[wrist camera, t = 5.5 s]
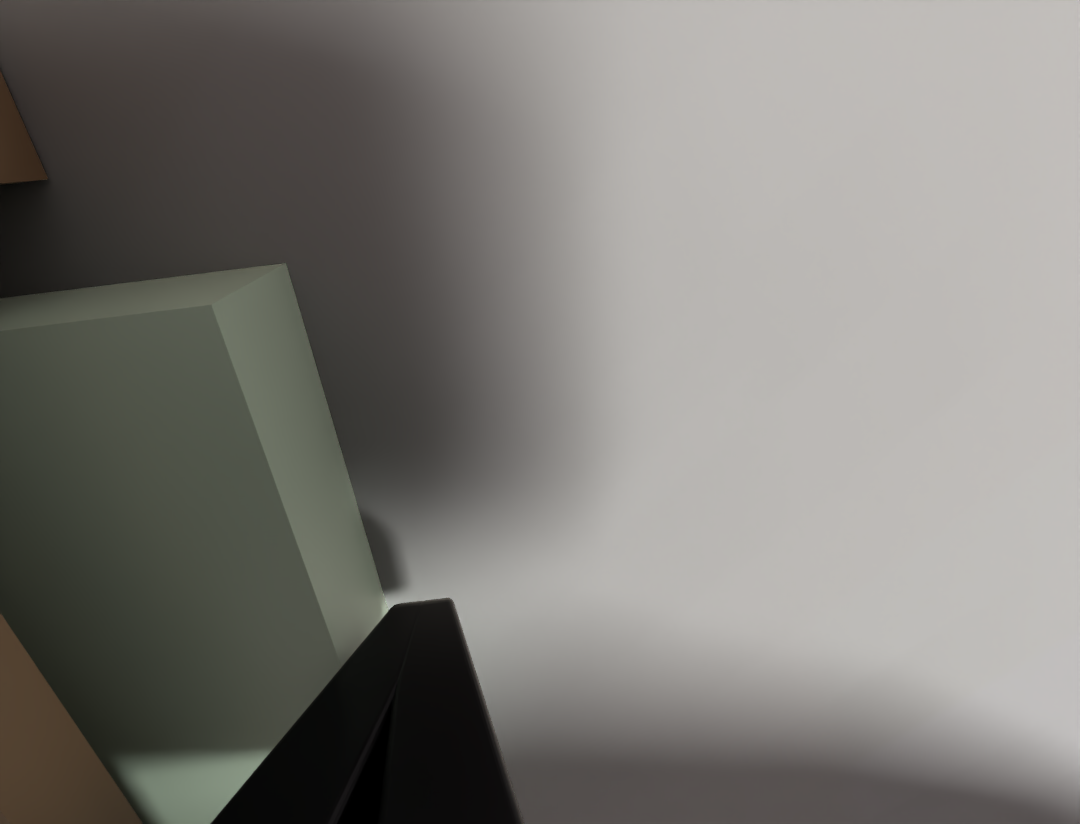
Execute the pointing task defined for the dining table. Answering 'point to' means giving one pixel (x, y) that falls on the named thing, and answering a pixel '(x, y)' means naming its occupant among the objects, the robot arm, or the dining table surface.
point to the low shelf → (13, 678)
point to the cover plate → (177, 525)
